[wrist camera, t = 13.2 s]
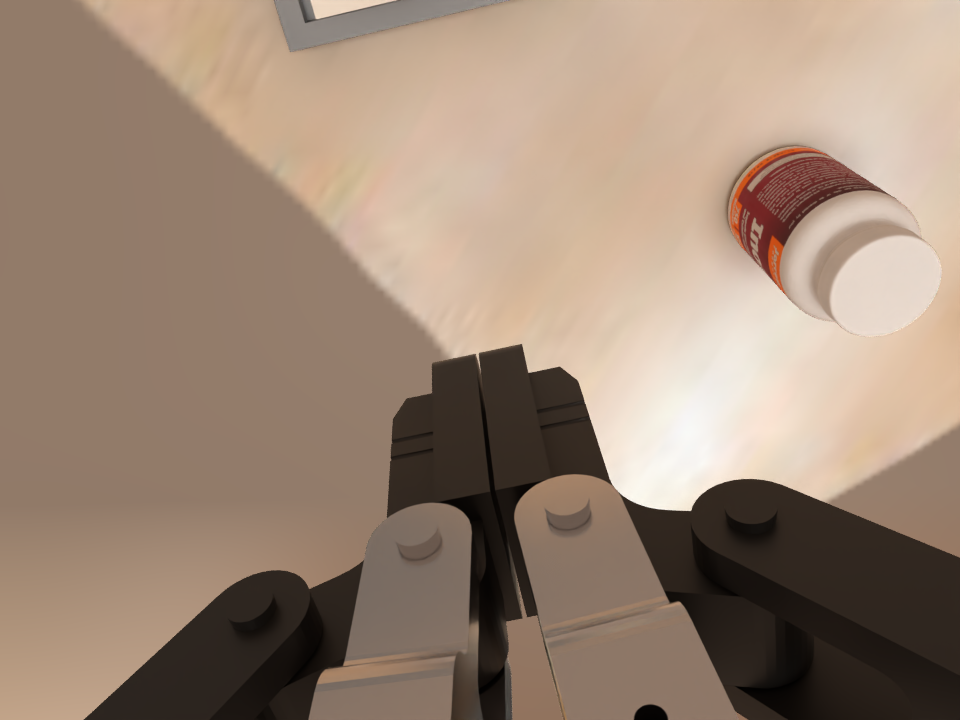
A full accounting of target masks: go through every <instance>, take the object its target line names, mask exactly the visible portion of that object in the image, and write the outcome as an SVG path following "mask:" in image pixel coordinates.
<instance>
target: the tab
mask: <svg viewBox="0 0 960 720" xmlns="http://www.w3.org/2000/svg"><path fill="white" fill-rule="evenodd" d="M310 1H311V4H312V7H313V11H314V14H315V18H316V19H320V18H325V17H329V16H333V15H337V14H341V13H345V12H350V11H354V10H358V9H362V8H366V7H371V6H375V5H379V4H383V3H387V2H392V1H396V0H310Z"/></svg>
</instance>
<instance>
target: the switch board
mask: <svg viewBox="0 0 960 720" xmlns="http://www.w3.org/2000/svg"><path fill="white" fill-rule="evenodd" d="M505 1H509V0H396V1H392V2H387V3H383V4H379V5H375V6H371V7H366V8H362V9H358V10H354V11H350V12H345V13H341V14H337V15H333V16H329V17H325V18H320V19H316V18H315V14H314V11H313V7H312V4H311V1H310V0H274V2H275V5H276V9H277V12H278V15H279V18H280V21H281V25H282V28H283V31H284V34H285V37H286V40H287V44H288V47H289V50H290V52H294V51H298V50H302V49H306V48H310V47H315V46H319V45H323V44H327V43H332V42H336V41H340V40H344V39H348V38H353V37H357V36H361V35H365V34H370V33H374V32H378V31H382V30H386V29H391V28H395V27H399V26H403V25H408V24H412V23H416V22H420V21H424V20H429V19H433V18H437V17H441V16H446V15H450V14H454V13H458V12H462V11H467V10H471V9H475V8H479V7H484V6H488V5H492V4H496V3H500V2H505Z"/></svg>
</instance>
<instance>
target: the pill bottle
mask: <svg viewBox="0 0 960 720" xmlns="http://www.w3.org/2000/svg"><path fill="white" fill-rule="evenodd" d="M728 220H729V225H730V228H731V231H732V233H733V235H734V237H735V239H736V240H737V241H738V243H739V244H740V246H741V247H742V248H743V249H744V250H745V251H746V252H747V253H748V254H749V255H750V256H751V257H752V259H753V260H754V261H755V262H756V263H757V264H758V265H759V266H760V267H761V268H762V269H763V270H764V272H765V273H766V274H767V275H768V276H769V277H770V278H771V279H772V280H773V281H774V283H775V284H776V285H777V286H778V287H779V288H780V290H782V292H783V293H784V294H785V295H786V296H787V297H788V298H789V299H790V300H791V301H792V302H793V303H794V304H795V305H796V306H797V307H798V308H799V309H800V310H802V311H803V312H805V313H806V314H808V315H810V316H812V317H815V318H818V319H821V320H825V321H831V322H836V323H837V324H838V325H839V326H840V327H841V328H843V329H844V330H846V331H848V332H850V333H852V334H855V335H858V336H864V337H876V336H882V335H887V334H890V333H893V332H896V331H898V330H900V329H902V328H904V327H906V326H907V325H909V324H910V323H912V322H913V321H915V320H916V319H917V318H918V317H919V316H920V315H921V314H922V313H924V311H925V310H926V309H927V308H928V306H929V305H930V304H931V302H932V301H933V299H934V297H935V296H936V294H937V291H938V289H939V285H940V281H941V273H942V270H941V263H940V260H939V257H938V255H937V253H936V252H935V250H934V249H933V248H932V247H931V245H929V244H928V243H927V242H926V241H924V240H923V239H922V236H921V231H920V228H919V225H918V222H917V220H916V219H915V217H914V215H913V214H912V213H911V212H910V210H909V209H908V208H907V207H906V206H904V205H903V204H902V203H901V202H899V201H898V200H897V199H896V198H894V197H892V196H891V195H889V194H888V193H886V192H884V191H883V190H881V189H880V188H878V187H877V186H875V185H874V184H872V183H870V182H869V181H867V180H866V179H864V178H863V177H861V176H860V175H858V174H856V173H855V172H853V171H852V170H850V169H849V168H847V167H846V166H844V165H843V164H841V163H839V162H838V161H836V160H835V159H833V158H832V157H830V156H828V155H827V154H825V153H822V152H820V151H818V150H816V149H813V148H809V147H803V146H791V147H784V148H780V149H777V150H774V151H772V152H769V153H767V154H766V155H764V156H762V157H761V158H759V159H758V160H756V161H755V162H754V163H753V164H751V165H750V166H749V167H748V168H747V169H746V170H745V171H744V173H743V174H742V175H741V177H740V178H739V179H738V181H737V183H736V185H735V187H734V189H733V191H732V194H731V197H730V200H729V206H728Z"/></svg>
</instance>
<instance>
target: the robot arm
mask: <svg viewBox="0 0 960 720" xmlns="http://www.w3.org/2000/svg"><path fill="white" fill-rule="evenodd" d="M479 359H480V368H481V372H480V368H479V364H478V360H477V357H476V354H473V355H468V356H463V357H458V358H453V359H449V360H444V361H439V362H435V363H433V364H432V393H431V394H427V395H422V396H418V397H412V398H407V399H406V400H405V402H404V403H403V405H402V406H401V408H400V410H399V411H398V412H397V414H396V415H395V417H394V419H393V427H392V445H391V461H390V476H389V494H388V510H387V519H386V520H384V521H383V522H382V523H381V524H380V525H379V526H378V527H377V528H376V529H375V531H374V532H373V533H372V535H371V537H370V539H369V541H368V544H367V547H366V553H365V558H364V561H363V562H361V563H360V564H359V565H357V566H356V567H354V568H353V569H351V570H350V571H347V572H345V573H344V574H342V575H340V576H338V577H335V578H333V579H331V580H329V581H327V582H324V583H322V584H320V585H318V586H315V587H313V588H311V589H309V588H308V586H307V584H306V582H305V581H304V580H303V579H302V578H301V577H300V576H298V575H296V574H294V573H291V572H288V571H280V570H277V571H266V572H261V573H257V574H254V575H252V576H249V577H246V578H244V579H242V580H241V581H238V582H236V583H235V584H233V585H232V586H230V587H229V588H227V589H226V590H225V591H224V592H222V593H221V594H220V595H219V596H218V597H216V598H215V599H214V600H213V601H212V602H211V603H210V604H209V605H208V606H207V607H206V608H205V609H204V610H202V611H201V612H200V613H199V614H198V615H197V616H196V617H195V618H194V619H193V620H192V621H190V622H189V623H188V624H187V625H186V626H185V627H184V628H183V629H182V630H181V631H180V632H179V633H177V634H176V635H175V636H174V637H173V638H172V639H171V640H170V641H169V642H168V643H167V644H166V645H165V646H163V647H162V648H161V649H160V650H159V651H158V652H157V653H156V654H155V655H154V656H152V657H151V658H150V659H149V660H148V661H147V662H146V663H145V664H144V665H143V666H142V667H141V668H139V669H138V670H137V671H136V672H135V673H134V674H133V675H132V676H131V677H130V678H129V679H128V680H126V681H125V682H124V683H123V684H122V685H121V686H120V687H119V688H118V689H117V690H116V691H115V692H113V693H112V694H111V695H110V696H109V697H108V698H107V699H106V700H105V701H104V702H103V703H101V704H100V705H99V706H98V707H97V708H96V709H95V710H94V711H93V712H92V713H91V714H90V715H88V716H87V717H86V718H85V719H84V720H512V685H511V684H512V683H511V667H510V663H509V660H508V656H507V655H508V635H507V626H506V621H511V620H516V619H522V611H521V604H520V596H519V590H518V582H519V587H520V591H521V595H522V599H523V602H524V606H525V610H526V614H527V617H531V616H536V615H537V616H538V620H539V624H540V628H541V632H542V636H543V641H544V645H545V649H546V653H547V658H548V662H549V666H550V670H551V674H552V678H553V682H554V685H555V689H556V693H557V697H558V701H559V705H560V708H561V713H562V717H563V720H739V719H738V717H737V715H736V712H737V713H739V714H740V715H742V716H743V717H745V718H747V719H748V720H960V558H959V557H957V556H954V555H952V554H949V553H947V552H945V551H942V550H940V549H937V548H935V547H932V546H930V545H927V544H925V543H922V542H920V541H918V540H915V539H913V538H910V537H908V536H905V535H903V534H900V533H898V532H896V531H893V530H891V529H888V528H886V527H883V526H881V525H878V524H876V523H874V522H871V521H869V520H866V519H864V518H861V517H859V516H856V515H854V514H852V513H849V512H847V511H844V510H842V509H839V508H837V507H834V506H832V505H830V504H827V503H825V502H822V501H820V500H817V499H815V498H812V497H810V496H808V495H805V494H803V493H800V492H798V491H795V490H793V489H790V488H788V487H786V486H783V485H780V484H777V483H774V482H770V481H765V480H757V479H741V480H733V481H729V482H724V483H721V484H719V485H716V486H714V487H712V488H710V489H708V490H707V491H706V492H704V493H703V494H702V495H701V496H700V497H699V498H698V499H697V500H696V502H695V503H694V505H693V507H692V510H691V511H672V510H659V509H653V508H648V507H645V506H641V505H638V504H636V503H634V502H632V501H630V500H628V499H627V498H625V497H623V496H622V495H621V494H620V493H619V492H618V491H617V490H616V489H615V488H614V486H613V485H612V483H611V481H610V479H609V476H608V473H607V470H606V466H605V463H604V460H603V457H602V454H601V451H600V448H599V445H598V442H597V438H596V435H595V432H594V429H593V426H592V423H591V420H590V417H589V414H588V411H587V407H586V404H585V402H584V398H583V395H582V392H581V389H580V386H579V383H578V381H577V380H576V379H575V378H574V377H572V376H571V375H570V374H568V373H567V372H566V371H565V370H563V369H562V368H561V367H556V368H551V369H546V370H542V371H537V372H532V373H528V370H527V365H526V361H525V356H524V352H523V347H522V344H520V345H515V346H510V347H505V348H500V349H496V350H491V351H486V352H481V353H479ZM517 579H518V582H517ZM735 711H736V712H735Z"/></svg>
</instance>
